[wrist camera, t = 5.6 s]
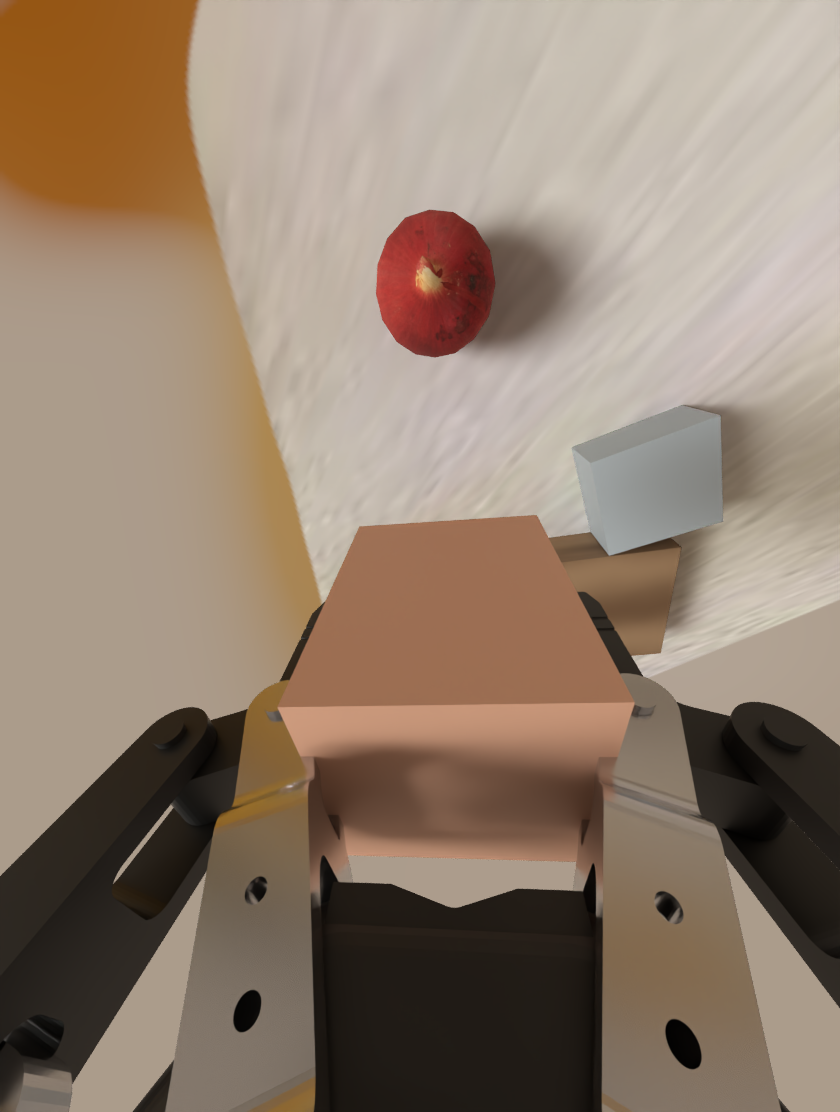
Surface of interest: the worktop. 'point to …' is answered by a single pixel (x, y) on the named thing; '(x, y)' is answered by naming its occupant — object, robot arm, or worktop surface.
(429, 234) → the red oval lump
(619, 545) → the slate block
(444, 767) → the terracotta block
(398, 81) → the worktop surface
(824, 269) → the worktop surface
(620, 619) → the walnut block
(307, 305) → the worktop surface
